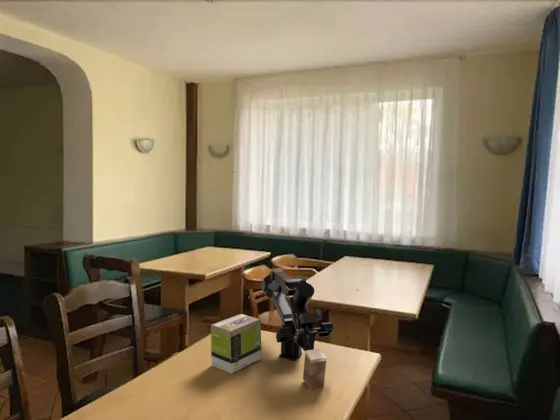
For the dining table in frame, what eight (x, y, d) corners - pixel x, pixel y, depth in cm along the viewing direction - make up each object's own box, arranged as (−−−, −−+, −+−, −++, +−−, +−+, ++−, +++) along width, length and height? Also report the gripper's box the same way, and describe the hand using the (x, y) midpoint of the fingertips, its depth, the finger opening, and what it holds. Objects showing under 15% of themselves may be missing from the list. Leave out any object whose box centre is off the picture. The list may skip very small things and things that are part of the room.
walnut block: (308, 388, 131) (311, 359, 129) (302, 378, 136) (305, 350, 133) (323, 386, 133) (326, 357, 130) (317, 376, 137) (320, 348, 135)
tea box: (241, 351, 157) (241, 312, 156) (261, 359, 151) (262, 318, 149) (210, 365, 146) (210, 323, 144) (230, 375, 139) (231, 330, 138)
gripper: (279, 303, 136) (290, 350, 126) (332, 298, 142) (347, 343, 132) (271, 319, 144) (281, 365, 134) (322, 314, 150) (335, 357, 140)
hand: (311, 357), depth 135 cm, fingers closed
